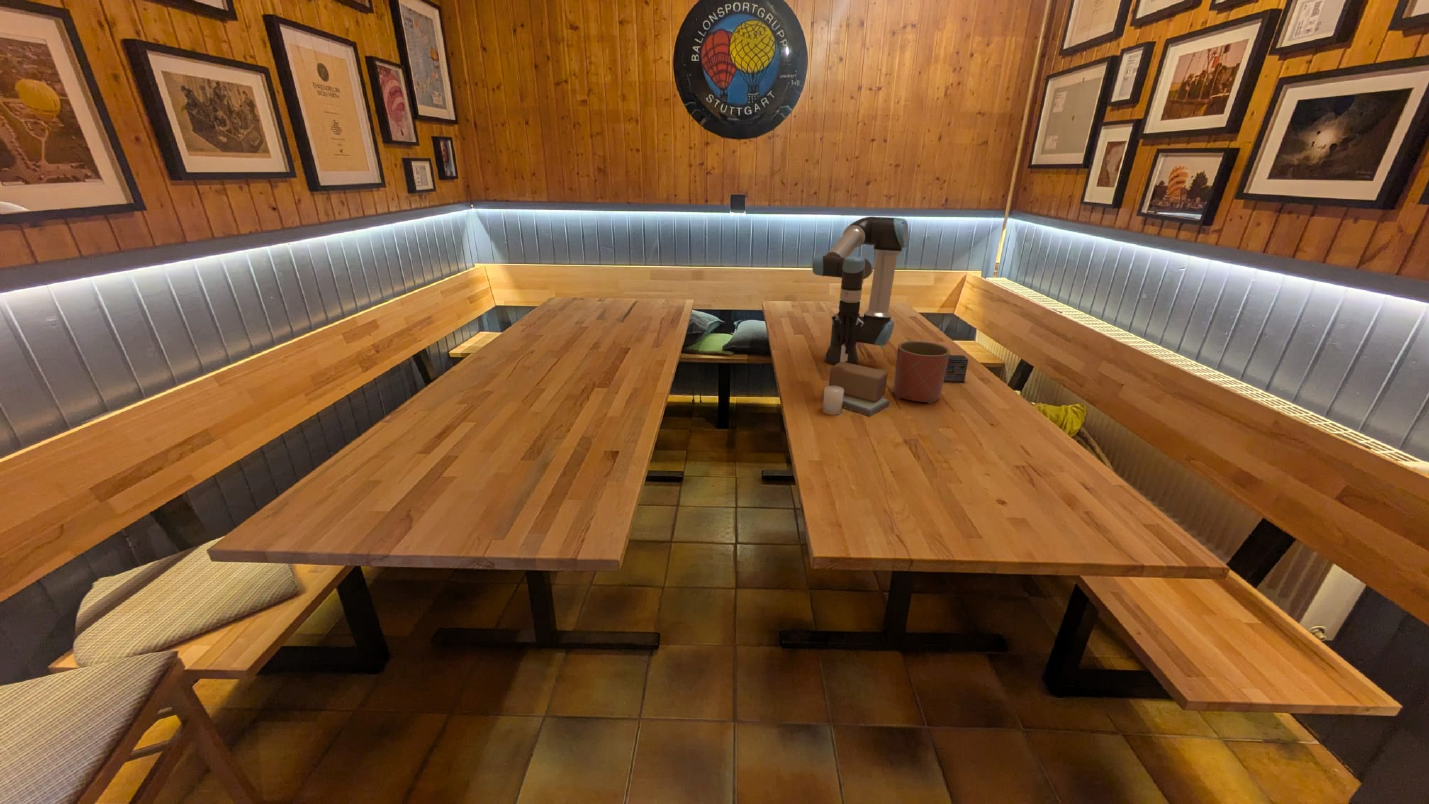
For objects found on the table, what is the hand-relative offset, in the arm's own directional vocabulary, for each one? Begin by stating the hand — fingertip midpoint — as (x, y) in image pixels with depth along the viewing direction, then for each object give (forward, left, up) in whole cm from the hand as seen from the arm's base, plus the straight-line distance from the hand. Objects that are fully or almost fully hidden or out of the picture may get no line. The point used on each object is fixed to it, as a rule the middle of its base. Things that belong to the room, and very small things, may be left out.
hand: (843, 361), depth 213 cm
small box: (+22, +51, -16) cm, 58 cm away
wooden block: (-5, +2, -8) cm, 10 cm away
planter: (+20, +24, -16) cm, 35 cm away
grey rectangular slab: (+8, 0, -16) cm, 17 cm away
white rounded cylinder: (+5, -13, -16) cm, 21 cm away
